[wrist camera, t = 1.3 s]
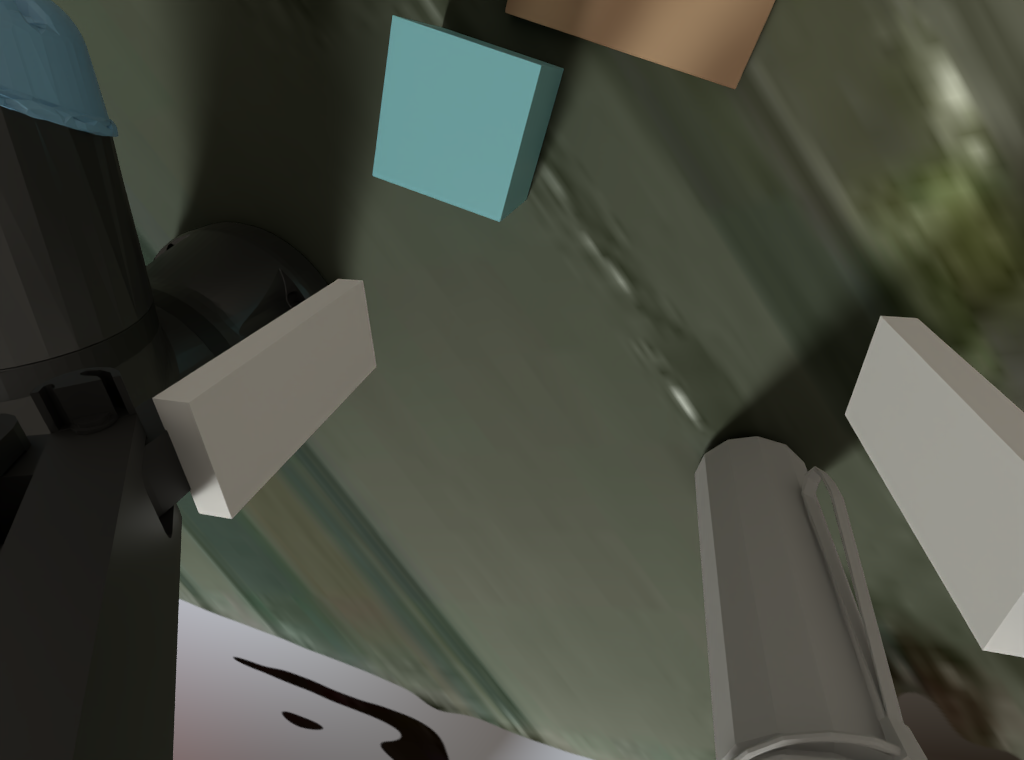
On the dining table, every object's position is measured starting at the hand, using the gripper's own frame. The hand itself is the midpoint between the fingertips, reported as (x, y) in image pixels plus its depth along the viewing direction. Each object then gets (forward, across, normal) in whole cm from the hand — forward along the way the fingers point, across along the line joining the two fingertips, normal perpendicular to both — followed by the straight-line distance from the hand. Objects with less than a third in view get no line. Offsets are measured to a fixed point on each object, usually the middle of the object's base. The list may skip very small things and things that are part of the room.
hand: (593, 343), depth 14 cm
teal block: (+19, -8, +4) cm, 21 cm away
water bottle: (+19, +11, -17) cm, 28 cm away
